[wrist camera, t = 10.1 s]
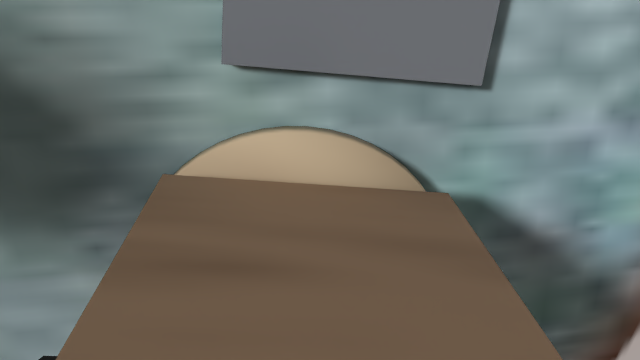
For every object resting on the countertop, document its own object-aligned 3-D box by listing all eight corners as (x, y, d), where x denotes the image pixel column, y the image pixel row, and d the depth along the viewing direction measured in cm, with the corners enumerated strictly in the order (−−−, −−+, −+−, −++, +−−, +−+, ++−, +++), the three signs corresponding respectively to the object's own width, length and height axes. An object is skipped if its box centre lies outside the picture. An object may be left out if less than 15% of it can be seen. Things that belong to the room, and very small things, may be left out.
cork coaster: (418, 394, 17) (422, 409, 17) (141, 387, 17) (136, 402, 16) (475, 138, 14) (483, 146, 13) (129, 113, 13) (122, 120, 13)
